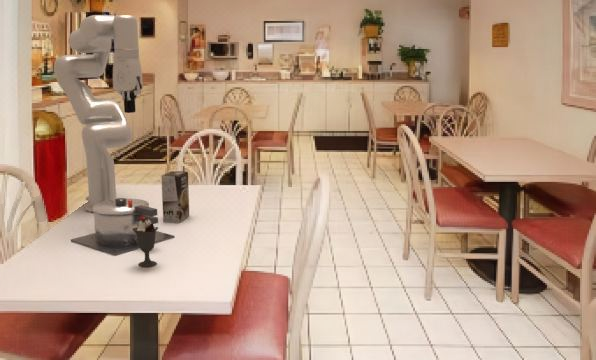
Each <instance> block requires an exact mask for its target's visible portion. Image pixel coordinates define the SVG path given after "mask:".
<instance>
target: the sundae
mask: <svg viewBox="0 0 596 360" xmlns="http://www.w3.org/2000/svg"><path fill="white" fill-rule="evenodd" d="M138 211H139V212H140V210H138ZM140 213H141V212H140ZM141 214H142V213H141ZM158 229H159V227H158V226H156V225H155V224H153V223H151V221H150V220H149V219H146V218H145V217H143V215H142V217H141V218H140V222H139V223H138V224H137V227H136V228H133V231H134V232H135V233H136V236H137V241H138V245H139V250H140V251H142V252H143V253H144V260H143V261H141V262H139V263H138V265H137V266H138V267H139V268H152V267H155V266H156V265H157V264H158V263H157V261H154V260H151V258H150V252H151V251H153V249H154V248H155V244H156V243H155V235H156V231H158Z"/></svg>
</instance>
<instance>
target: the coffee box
mask: <svg viewBox="0 0 596 360" xmlns="http://www.w3.org/2000/svg"><path fill="white" fill-rule="evenodd" d="M189 190H190V189H189V172H188V171H179V170H177V171H176V170H175V171H174V170H173V171H169V172H167V173H165V174H162V175H161V197H162V198H161V201H162V221H163V222H164V223H165V222H166V223H175V224H176V223H177V224H180V223H182V222H183V221H185V220H186V219H188V218H190V194H189Z"/></svg>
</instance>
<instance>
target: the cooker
mask: <svg viewBox="0 0 596 360" xmlns="http://www.w3.org/2000/svg"><path fill="white" fill-rule="evenodd" d="M142 215H143V214H139V213H134V214H127V215H102V214H97V213H95V212H93V220H94V233H89V234H86V235H82V236H77V237H73V238H71V239H70V242H72V243H74V244H78V245H81V246H83V247H84V246H85V247H87V248H89V249H90V248H91V249H93V250H96V251H99V252H103V253H105V254H108V255H111V256H119V255H122V254H126V253H129V252H131V251H132V252H133V251H136V250H138V249H139V250H140V248H139V245H138V241H137V236H136V233H135V232H134V231H133V228H136V227H137V224H138V223H139V222H140V218H141V217H142ZM143 217H145V218H146V219H149V220H150V221H151V223H153V225H156V224H159V217H158V216H157V217H156V216H152V217H151V216H147V215H143ZM172 239H175V235H173V234H170V233H165V232H161V231H158V230H156V235H155V244H158V243H161V242H165V241H168V240H172Z"/></svg>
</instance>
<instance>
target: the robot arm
mask: <svg viewBox="0 0 596 360" xmlns="http://www.w3.org/2000/svg"><path fill="white" fill-rule="evenodd" d="M112 40H113V48H114V59H113V66H112V89H114V90H115V91H117V94H118V95H121V99H122V101H123V107H124V108H123V109H124V111H123V109H122V107H121V105H120V103H119V102H118V101H117V100H115V99H114V98H110V97H106V98H98V97H95V95H94V93H93V92H92V90H91V88H90V87H89V86H88V85H87V84H86V83H85V82H84V81H82V80H80V79H81V78H84V79H85V78H99V77H102V76H103V74H104V73H105V70H106V67H107V63H108V60H109V57H110V53H111V49H112ZM68 44H69V47H70V48H71V50H73V51H75V52H77V53H81V54H66V55H60V56H59V57H57V58H56V59H55V60H54V65H53V71H54V76H55V78H56V79H55V80H56V81H57V84H58V85H59V86H60V89H62V91H63V92H64V93H65V95H66V97H67V98H68V100H69V103H70V105H71V107H72V109H73V112H74V114H75V116H76V118H77V119H78V121H79V123H81V125H84V126H83V128H82V130H81V139H82V144H83V147H84V152H85V161H86V173H87V174H86V175H87V186H88V195H87V196H86V197H85V200H86V201H88V204H86V205H85V207H84V209H85V211H86V212H89V213H94V212H93V206H94V205H95V204H97V203H100V202H103V201H108V200H115V199H117V188H116V184H117V183H116V173H115V172H116V171H115V170H116V169H115V161H114V157H113V156H112V155H111V154H110V152H109V151H108V149H111V148H112V149H113V148H121V147H126V146H129V145H130V144H131V142H132V140H133V132H132V130H131V126H130V124H129V122H128V120H127V118H126V116H125V113H126V114H129V113H130V114H131V113H136V100H137V96H140V95H142V92H141V90H142V89H143V82H144V80H143V72H142V66H141V61H140V50H139V30H138V19H137V17H136V16H135V15H130V14H129V15H128V14H127V15H126V14H122V15H119V14H118V15H107V14H106V15H105V14H93V15H90V16H87V17H84V18H83V19H82V20H81V22H80V24H79V27H78V28H77V29H75V30H74V31H71V33H70V34H69V36H68Z"/></svg>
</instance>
